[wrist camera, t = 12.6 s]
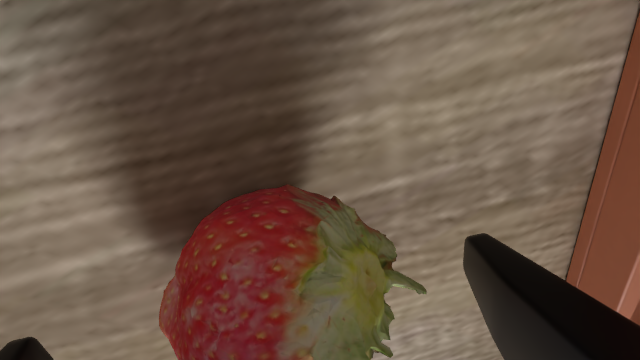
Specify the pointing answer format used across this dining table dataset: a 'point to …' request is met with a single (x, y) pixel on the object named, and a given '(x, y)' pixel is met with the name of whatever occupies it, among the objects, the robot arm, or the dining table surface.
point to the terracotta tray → (615, 205)
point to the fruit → (282, 282)
